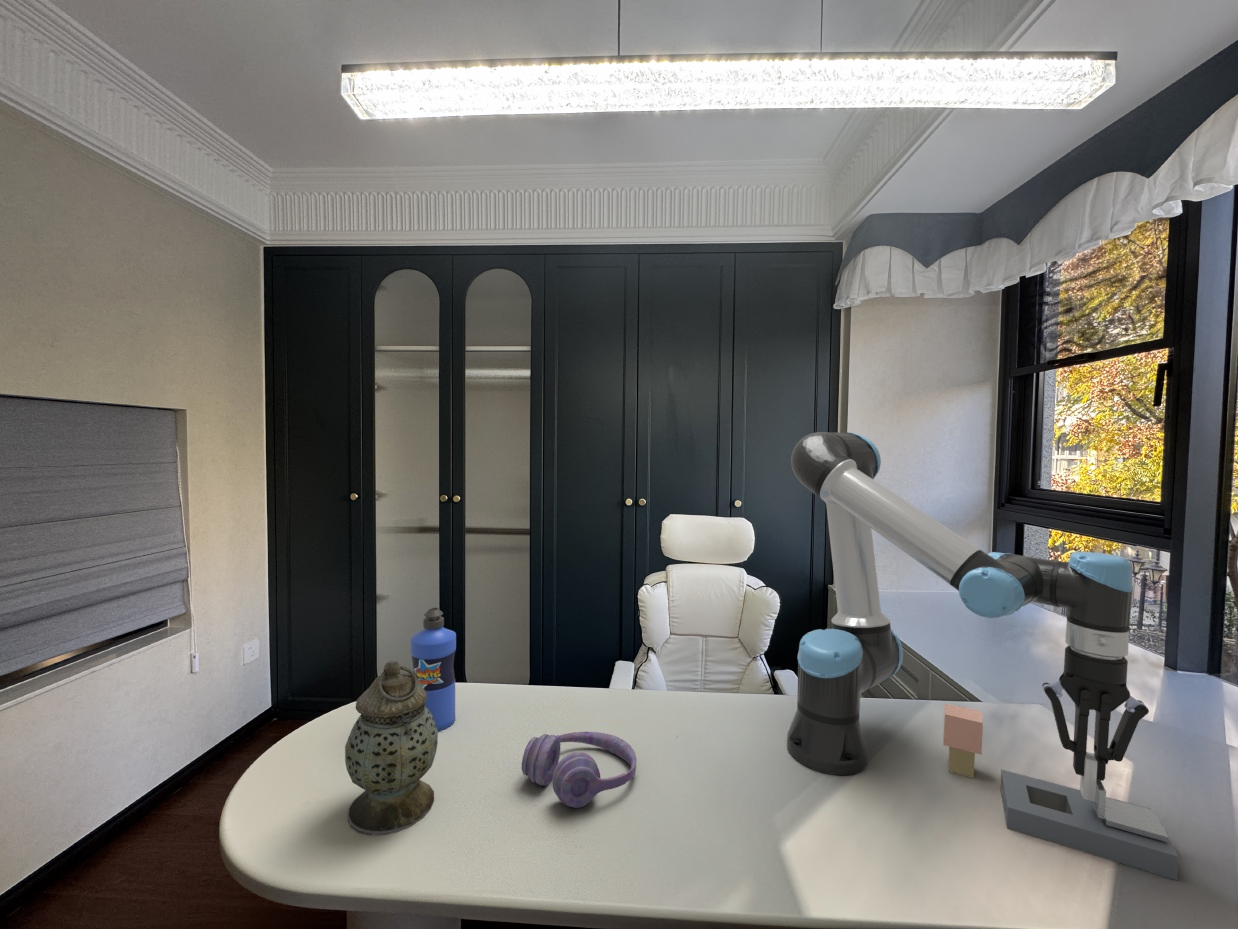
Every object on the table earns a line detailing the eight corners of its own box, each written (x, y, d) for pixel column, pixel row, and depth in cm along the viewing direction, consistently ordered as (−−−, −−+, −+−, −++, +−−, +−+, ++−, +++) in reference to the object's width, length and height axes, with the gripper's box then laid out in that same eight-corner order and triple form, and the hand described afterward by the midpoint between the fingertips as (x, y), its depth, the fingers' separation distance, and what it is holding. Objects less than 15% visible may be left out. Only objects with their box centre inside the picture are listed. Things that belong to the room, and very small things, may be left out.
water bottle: (448, 734, 114) (448, 616, 113) (403, 733, 114) (403, 615, 113) (461, 711, 124) (461, 602, 122) (420, 711, 124) (420, 602, 123)
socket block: (1006, 828, 88) (1007, 807, 88) (1000, 788, 99) (1001, 769, 99) (1177, 880, 78) (1178, 856, 78) (1150, 829, 89) (1151, 808, 88)
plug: (942, 770, 104) (944, 714, 103) (942, 758, 108) (944, 703, 108) (980, 781, 101) (982, 723, 100) (978, 767, 105) (981, 711, 105)
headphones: (574, 827, 87) (653, 789, 101) (581, 773, 87) (658, 743, 102) (506, 777, 99) (585, 750, 114) (512, 731, 100) (590, 709, 114)
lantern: (441, 777, 100) (441, 642, 99) (431, 831, 86) (431, 675, 85) (358, 786, 97) (357, 647, 96) (334, 844, 83) (333, 683, 82)
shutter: (1097, 822, 85) (1099, 790, 84) (1087, 797, 91) (1089, 767, 90) (1168, 842, 80) (1170, 808, 80) (1152, 815, 86) (1154, 783, 86)
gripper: (1048, 650, 87) (1040, 794, 88) (1159, 668, 80) (1149, 824, 81) (1040, 636, 93) (1033, 770, 94) (1143, 652, 87) (1134, 796, 88)
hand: (1087, 795), depth 88 cm, fingers closed
